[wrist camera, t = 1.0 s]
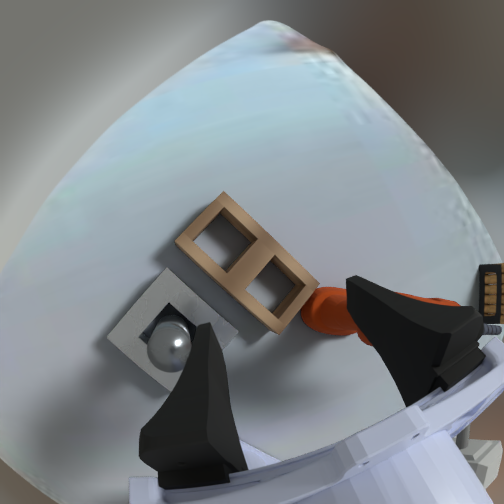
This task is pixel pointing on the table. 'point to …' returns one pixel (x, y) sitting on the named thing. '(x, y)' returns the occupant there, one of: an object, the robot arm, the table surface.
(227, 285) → the rack
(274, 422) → the table surface
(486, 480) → the hammer
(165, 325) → the grey metal cylinder
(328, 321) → the toy drill
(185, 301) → the socket block
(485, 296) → the ammunition clip
